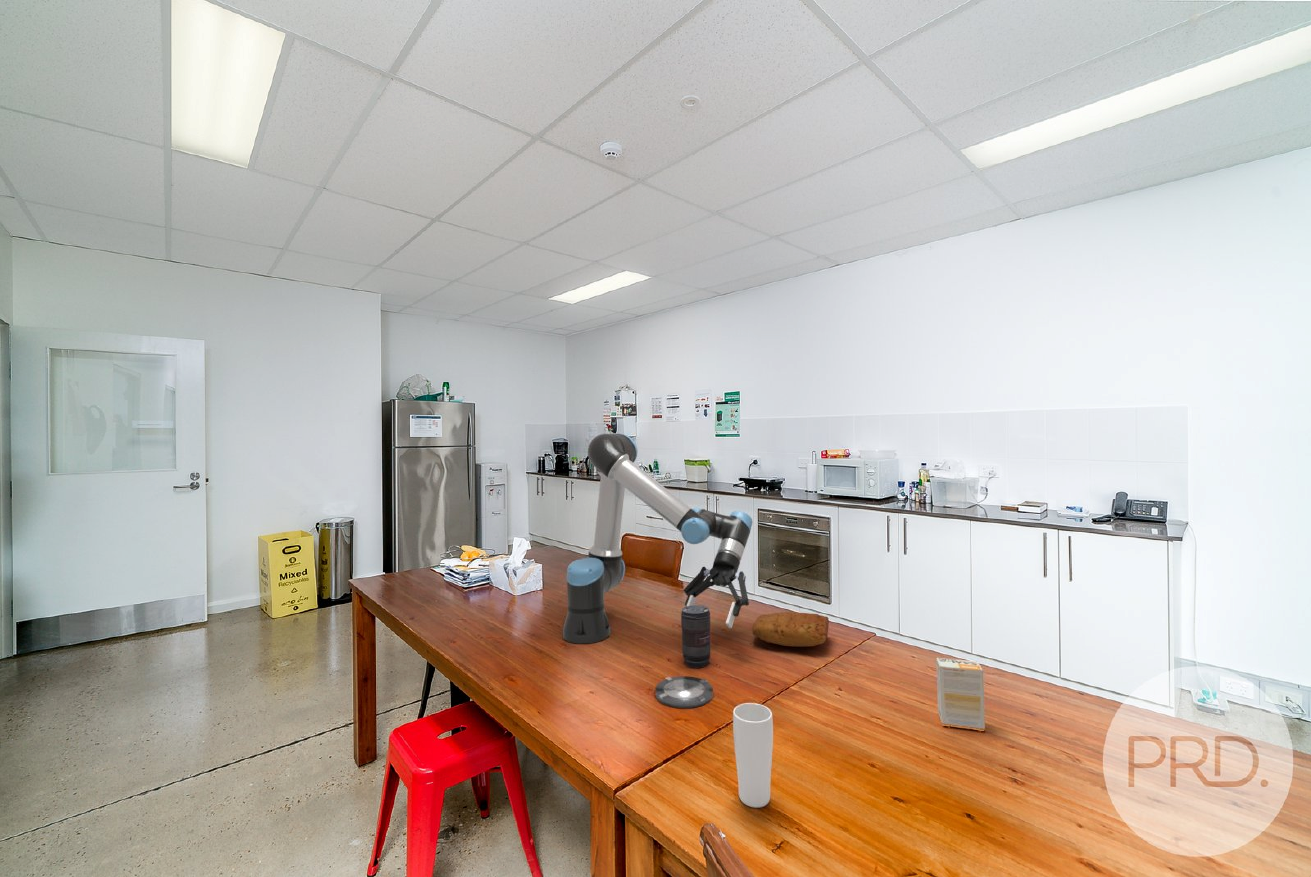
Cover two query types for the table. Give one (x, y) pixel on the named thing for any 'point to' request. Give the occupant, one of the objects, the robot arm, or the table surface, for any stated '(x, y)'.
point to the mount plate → (684, 692)
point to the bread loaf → (792, 628)
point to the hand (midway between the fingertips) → (706, 621)
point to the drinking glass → (753, 752)
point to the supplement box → (960, 693)
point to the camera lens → (696, 635)
